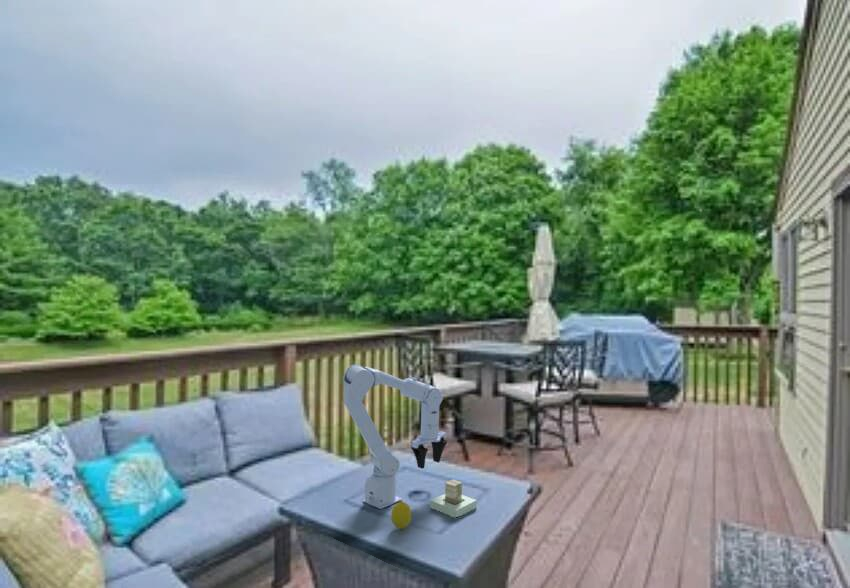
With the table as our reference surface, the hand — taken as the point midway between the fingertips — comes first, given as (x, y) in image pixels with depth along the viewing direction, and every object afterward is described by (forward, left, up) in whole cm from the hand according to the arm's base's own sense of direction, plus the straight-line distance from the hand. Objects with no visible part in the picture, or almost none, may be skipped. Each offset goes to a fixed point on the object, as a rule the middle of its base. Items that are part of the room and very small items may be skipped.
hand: (428, 464), depth 188 cm
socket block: (-3, -13, -9) cm, 16 cm away
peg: (-3, -13, -9) cm, 16 cm away
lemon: (-24, -11, -10) cm, 28 cm away
